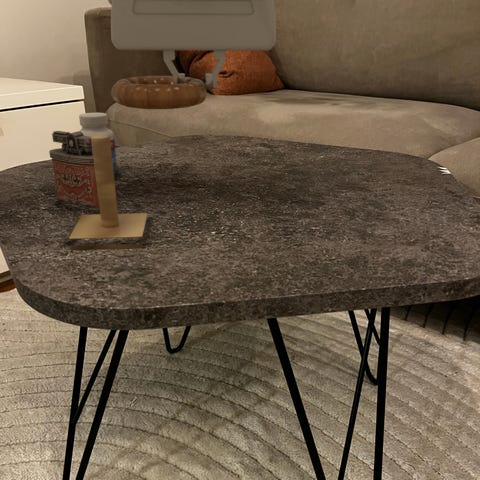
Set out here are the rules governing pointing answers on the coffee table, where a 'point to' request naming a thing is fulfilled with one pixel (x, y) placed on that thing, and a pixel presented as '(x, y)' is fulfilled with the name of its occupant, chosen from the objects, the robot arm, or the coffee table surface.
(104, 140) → the paper towel holder
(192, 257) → the coffee table surface
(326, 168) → the coffee table surface
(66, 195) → the lighter
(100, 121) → the pill bottle
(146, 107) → the ring
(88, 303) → the coffee table surface
